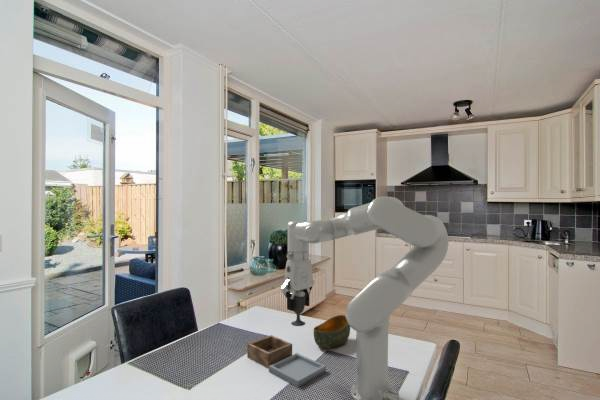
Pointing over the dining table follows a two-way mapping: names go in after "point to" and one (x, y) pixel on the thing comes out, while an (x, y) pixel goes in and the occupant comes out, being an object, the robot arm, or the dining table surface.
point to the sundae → (299, 306)
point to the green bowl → (332, 333)
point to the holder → (260, 347)
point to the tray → (297, 369)
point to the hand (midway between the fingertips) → (298, 307)
